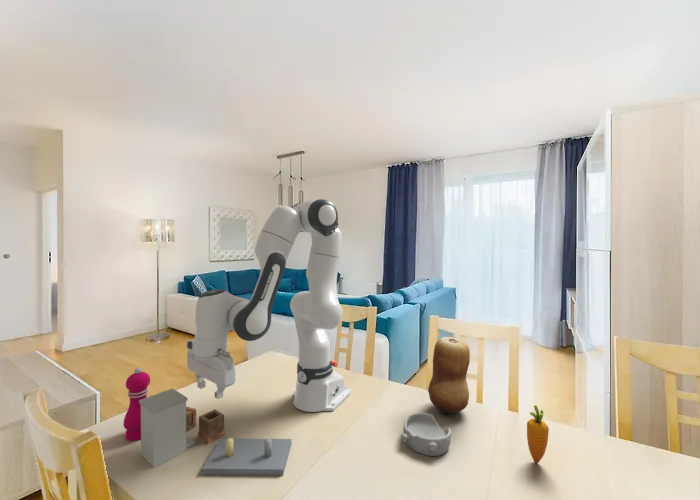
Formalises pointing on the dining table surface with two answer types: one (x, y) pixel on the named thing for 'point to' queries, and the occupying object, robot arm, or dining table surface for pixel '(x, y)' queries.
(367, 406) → the dining table surface
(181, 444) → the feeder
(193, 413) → the sleeve
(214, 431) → the sleeve
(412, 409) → the dining table surface
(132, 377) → the pepper mill
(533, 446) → the carrot
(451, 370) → the butternut squash
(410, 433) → the dish
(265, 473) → the pin board
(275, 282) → the robot arm
